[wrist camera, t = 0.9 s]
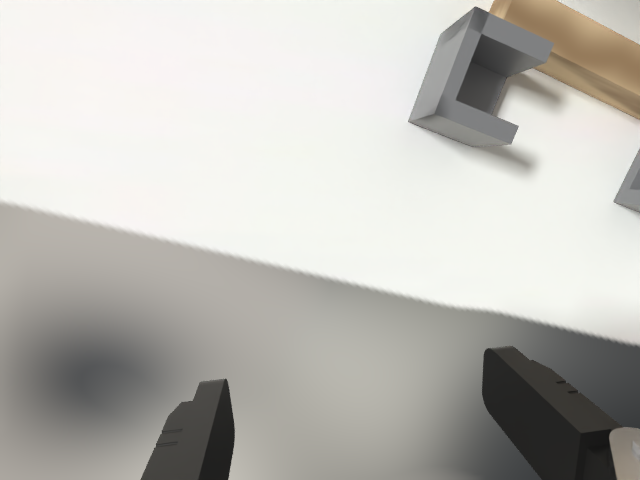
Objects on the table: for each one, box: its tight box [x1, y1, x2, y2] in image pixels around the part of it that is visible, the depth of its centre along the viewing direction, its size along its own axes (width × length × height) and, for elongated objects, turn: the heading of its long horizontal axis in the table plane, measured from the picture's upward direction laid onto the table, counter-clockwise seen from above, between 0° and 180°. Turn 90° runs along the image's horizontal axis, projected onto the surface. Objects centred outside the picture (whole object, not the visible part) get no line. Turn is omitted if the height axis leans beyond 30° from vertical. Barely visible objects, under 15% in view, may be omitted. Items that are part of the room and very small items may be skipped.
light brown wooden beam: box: [489, 0, 640, 120], centre depth 33 cm, size 4×24×4 cm, turn 70°
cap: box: [408, 6, 554, 147], centre depth 31 cm, size 8×7×6 cm
